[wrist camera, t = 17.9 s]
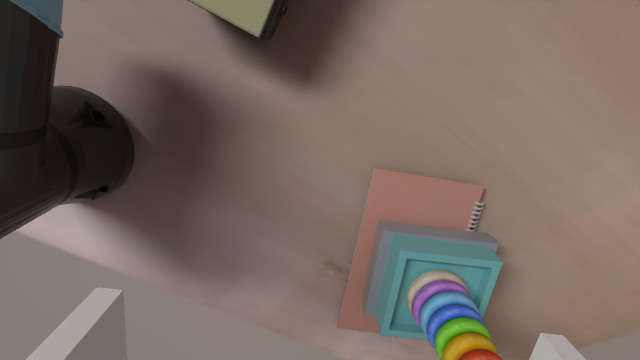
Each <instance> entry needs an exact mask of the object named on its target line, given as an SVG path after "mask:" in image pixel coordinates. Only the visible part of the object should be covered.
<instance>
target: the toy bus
mask: <svg viewBox="0 0 640 360" xmlns="http://www.w3.org/2000/svg"><path fill="white" fill-rule="evenodd" d="M188 1H190V2H192V3H194V4H196V5H197V6H199V7H201V8H203V9H205V10H207V11H209V12H210V13H212V14H214V15H216V16H218V17H220V18H222V19H223V20H225V21H227V22H229V23H231V24H233V25H235V26H237V27H238V28H240V29H242V30H244V31H246V32H248V33H250V34H251V35H253V36H255V37H257V38H260V39H266V40H270V39H271V38H272V36H273V34H274V32H275V30H276V27H277V25H278V23H279V20H280V18H283V16H284V15H285V13H286V10H287V6H286V4H287V2H288V0H188Z"/></svg>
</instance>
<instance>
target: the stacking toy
mask: <svg viewBox="0 0 640 360" xmlns="http://www.w3.org/2000/svg"><path fill="white" fill-rule="evenodd" d="M406 302H407V306H408V309H409V311H410V312H411V314H412V315H413V318H414V320H415V322H416V323H417V324H418V326H420V327H421V328H422V330H423V332H424V334H425V335H426V336H427V337H428V340H429V342H430V343H431V345H432V346H433V347H434V348H435V349H436V352H437V354H438V356H439V357H440V359H441V360H502V359H501V358H500V357H499V356H498V352H497V349H496V347H495V345H494V344H493V342H492V338H491V335H490V332H489V331H488V329H487V328H486V327H485V324H484V321H483V319H482V317H481V316H480V314H479V311H478V308H477V306H476V304H475V303H474V301H473V300H472V299H471V296H470V294H469V292H468V289H467V286H466V284H465V282H464V281H463V280H462V279H461V278H460V277H459V276H458V275H456V274H455V273H453V272H450V271H447V270H431V271H428V272H425V273H423V274H421V275H420V276H418V277H417V278H416V279H415V280H414V281H413V282H412V283H411V284H410V286H409V288H408V291H407V296H406Z"/></svg>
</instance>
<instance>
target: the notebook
mask: <svg viewBox="0 0 640 360" xmlns="http://www.w3.org/2000/svg"><path fill="white" fill-rule="evenodd" d="M484 187H485V186H482V185H476V184H469V183H463V182H457V181H451V180H445V179H439V178H433V177H427V176H421V175H415V174H409V173H403V172H396V171H390V170H384V169H378V168H374V170H373V174H372V178H371V182H370V187H369V191H368V195H367V199H366V204H365V208H364V212H363V216H362V221H361V225H360V229H359V234H358V238H357V242H356V246H355V251H354V255H353V259H352V263H351V268H350V272H349V276H348V281H347V285H346V289H345V293H344V298H343V302H342V306H341V310H340V315H339V319H338V324H337V328H342V329H350V330H358V331H365V332H373V333H379V329H378V325H377V320H376V317H368V316H364V312H363V307H362V298H363V293H364V289H365V284H366V279H367V274H368V270H369V265H370V260H371V256H372V251H373V246H374V241H375V237H376V232H377V227H378V223H379V220H380V221H388V222H397V223H405V224H414V225H422V226H430V227H439V228H447V229H456V230H464V231H472V232H474V231H475V228H474V227H476V226H477V225H476V224H475V223H478V220H477V219H478V218H479V217H480V216H479V215H478V214H481V211H480V210H481V209H483V207H482V206H481V205H484V204H485V203H484V202H483V201H482V200H480V199H481V196H482V193H483V190H484ZM479 202H482V203H479ZM478 206H479V207H481V208H478ZM476 210H477V211H479V212H476ZM475 215H477V216H478V217H475ZM473 219H475V220H476V221H473ZM471 224H474V225H475V226H472V225H471ZM470 227H471V228H472V229H473V230H470Z"/></svg>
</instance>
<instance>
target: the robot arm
mask: <svg viewBox="0 0 640 360" xmlns="http://www.w3.org/2000/svg"><path fill="white" fill-rule="evenodd" d="M62 10H63V0H0V239H1V238H2V237H4V236H6V235H8V234H9V233H11V232H13V231H15V230H16V229H18V228H20V227H22V226H23V225H25V224H27V223H28V222H30V221H32V220H34V219H35V218H37V217H39V216H41V215H42V214H44V213H46V212H48V211H49V210H51V209H53V208H54V207H56V206H58V205H62V204H70V203H78V202H87V201H91V200H95V199H98V198H100V197H103V196H105V195H106V194H108V193H110V192H111V191H113V190H114V189H116V188H117V187H119V186H120V185H121V184H122V183H123V182H124V181H125V179H126V178H127V176H128V175H129V173H130V170H131V168H132V164H133V157H134V149H133V142H132V138H131V135H130V133H129V130H128V128H127V126H126V124H125V122H124V121H123V119H122V118H121V116H120V115H119V114H118V113H117V112H116V110H115V109H114V108H113V107H112V106H111V105H109V104H108V103H107V102H106V101H104V100H103V99H102V98H100V97H99V96H97V95H95V94H93V93H91V92H89V91H87V90H84V89H81V88H77V87H72V86H53V84H54V76H55V69H56V62H57V54H58V47H59V39H60V38H62V39H63V31H62V30H61V22H62ZM125 334H126V333H125V317H124V299H123V290H117V289H107V288H96V289H95V290H94V291H93V292H92V293H91V294H90V295H89V296H88V297H87V298H86V299H85V300H84V301H83V302H82V303H81V304H80V305H79V306H78V307H77V308H76V309H75V310H74V311H73V312H72V313H71V314H70V315H69V316H68V317H67V318H66V319H65V320H64V321H63V323H61V324H60V325H59V327H58V328H57V329H56V330H55V331H54V332H53V333H52V334H51V335H50V336H49V337H48V338H47V339H46V340H45V341H44V342H43V343H42V344H41V345H40V346H39V347H38V348H37V349H36V350H35V351H34V352H33V353H32V354H31V355H30V356H29V357H28V358H27V359H26V360H127V351H126V335H125ZM529 360H585V358H583V356H582V355H581V354H580V353H579V352H578V351H577V350H576V349H575V348H574V347H573V345H572V344H571V343H570V342H569V341H568V340H567V339H566V338H565V337H564V336H563V335H555V334H545V333H540V336H539V338H538V340H537V343H536V345H535V347H534V350H533V352H532V354H531V357H530V359H529Z"/></svg>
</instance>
